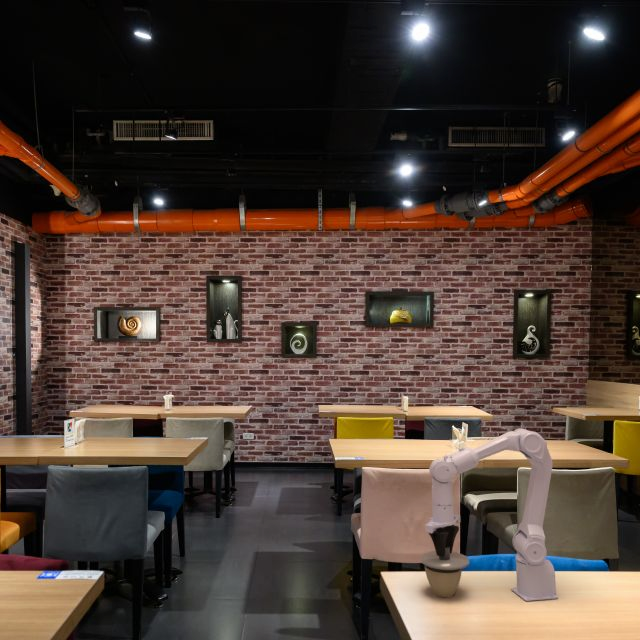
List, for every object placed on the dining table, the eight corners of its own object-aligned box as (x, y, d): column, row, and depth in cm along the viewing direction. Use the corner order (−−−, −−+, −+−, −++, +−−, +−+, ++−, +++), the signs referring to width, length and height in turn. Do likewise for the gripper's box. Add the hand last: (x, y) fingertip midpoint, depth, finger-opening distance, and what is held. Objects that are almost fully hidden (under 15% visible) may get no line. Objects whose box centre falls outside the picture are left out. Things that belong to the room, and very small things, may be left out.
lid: (457, 552, 153) (456, 538, 153) (477, 567, 140) (476, 552, 141) (414, 555, 151) (413, 541, 151) (430, 571, 138) (430, 556, 139)
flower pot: (464, 602, 139) (463, 574, 140) (425, 599, 141) (424, 571, 142) (461, 587, 149) (460, 561, 150) (425, 585, 151) (424, 559, 152)
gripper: (444, 497, 155) (446, 545, 154) (415, 505, 145) (416, 557, 144) (466, 501, 150) (467, 550, 149) (437, 510, 140) (438, 563, 139)
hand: (444, 554), depth 146 cm, fingers closed on lid, 3 cm apart
